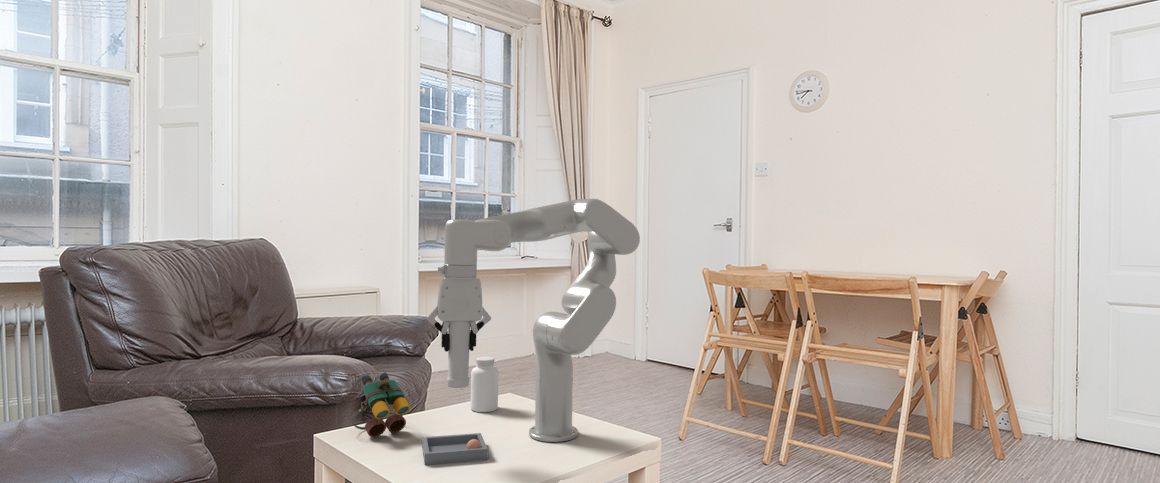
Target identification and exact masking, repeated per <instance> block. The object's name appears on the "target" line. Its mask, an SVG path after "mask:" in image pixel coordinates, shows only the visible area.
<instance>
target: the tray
mask: <svg viewBox="0 0 1160 483" xmlns="http://www.w3.org/2000/svg"><path fill="white" fill-rule="evenodd" d="M472 439H476V440H478V441H479V442H480V444H481V448H474V449H467V443H468V442H469V441H470V440H472ZM421 441H422V442H421V444H422V445H421V447H422V453H423V455H422V456H423V462H424V463H423V464H424V466H429V465H430V466H431V465H439V464H440V465H441V464H451V463H452V464H453V463H463V462H464V463H466V462H473V461H474V462H477V461H486V460H487V461H488V450H489V449H488V447H487V445H486V442H485V439H484V437H483V435H482V433H481V432H476V433H461V434H448V435H446V434H445V435H437V436H434V435H433V436H423V437H422V438H421Z"/></svg>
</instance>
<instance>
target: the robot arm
mask: <svg viewBox="0 0 1160 483" xmlns="http://www.w3.org/2000/svg"><path fill="white" fill-rule="evenodd" d="M444 227H445V228H444V263H443V266H439V267H437V274H442V275H443V277H441V278H440V282H439V289H438V293H437V294H438V295H437V306H435V307H434V309H432V311H431V313H430V314H429V315H428V316H427V317H426V320H427V322H429V323H430V324H431V325H432V326H434V327H435V329H437V330H438V331H439V332H440V333H441V344H440V345H441V348H443V350H444V352H448V350H449V334H448V327H449V324H450V322H458V321H464V322H470V346H469V351H471V352H474V347H477V334H478V332H479V331H480V330H481V329H482V328H483V327H484V326H485V325H486V324H487V323H489V322H490V321H491V320H492V316H490V313H488V312H487V310H486V309H485V308H484V307H483V291H482V289H483V288H482V282H481V278H478V277H477V276H478V272H477V271H478V251H486V252H501V251H504V250H505V249H507V248H508V247H509V246H511V244H512V243H521V242H522V243H523V242H525V243H526V242H528V243H529V242H531V243H532V242H533V243H534V242H542V241H543V242H544V241H548V240H552V239H556V238H558V237H559V238H560V237H565V236H567V235H568V236H569V235H572V234H575V233H582V232H583V233H584V232H585V233H586V232H588V233H587V240H586V241H587V247H588V261H587V263H586V265H585V267H583V269H582V271H581V272H580V273H579V275H577V277H576V278H575V279H574V280H573V282H572V283H571V284H570V285H569V287H568V288H567V289H566V290H565V292H564V293H563V295H562V298H561V307H562V310H564V312H566V313H564V312H558V311H548V312H544V313H543V314H541V315H539V316H538V317H537V318H536V320H535V322H534V324H533V328H532V339H533V345H534V351H535V352H534V353H535V402H534V403H535V411H534V413H535V414H534V415H535V416H534V418H535V419H534V423H535V424H534V425H533V426H532V427H530V428H529V430H528V435H529V436H530V438H532V439H534V440H537V441H540V442H547V443H558V442H559V443H560V442H567V441H570V440H574V439H575V438H577V437H578V435H579V430H578V428H577V427H575V426H573V388H574V387H573V379H574V378H573V377H574V376H573V375H574V365H573V364H574V363H573V358H572V357H573V356H577V355H580V354H582V353H584V352H585V351H587V350H588V349H589V348H590V347H591V345H592V344H593V343H594V342H595V340H596V339H597V338H598V336H599V335H600V334H601V333H602V331H603V330H604V329H605V327H606V326H607V324H608V323H609V322H610V320H611V319H612V318H613V316H614V314H615V310H616V308H617V297H616V294H615V292H614V291H613V290H612V288H611V286H612V285H613V283H614V281H615V279H616V276H617V261H616V255H619V256H625V255H626V256H627V255H630V254H633V253H634V252H635V251H636V250H637V249H638V247H639V246H640V242H641V236H640V232H639V230H638V228H637V227H636V226H635V224H634V223H632V222H631V221H630V220H629V219H627V217H625V216H623V215H622V214H621V213H620V212H618V211H617V210H616V209H614V208H613V207H612V206H610V205H609V204H608V203H606V202H604V201H603V200H601V199H598V198H582V199H571V200H566V201H563V202H557V203H553V204H549V205H542V206H538V207H534V208H533V207H532V208H528V209H523V210H519V211H516V212H511V213H505V214H500V215H494V216H490V217H484V218H479V219H476V220H471V219H449V220H447V221H446V223H445V226H444ZM436 317H437V318H438V320H440V321H441V322H442V323H440V322H439V321H438V320H437V319H436ZM476 322H477V323H476Z"/></svg>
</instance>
